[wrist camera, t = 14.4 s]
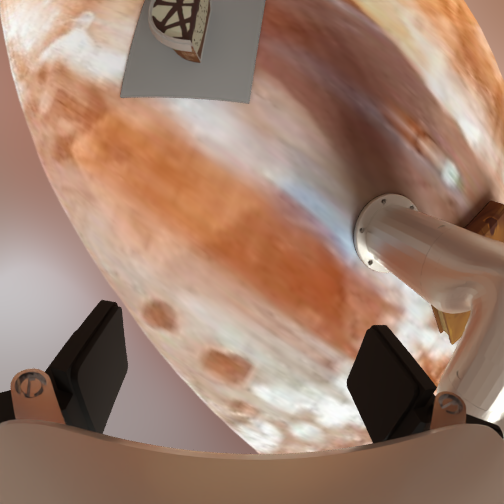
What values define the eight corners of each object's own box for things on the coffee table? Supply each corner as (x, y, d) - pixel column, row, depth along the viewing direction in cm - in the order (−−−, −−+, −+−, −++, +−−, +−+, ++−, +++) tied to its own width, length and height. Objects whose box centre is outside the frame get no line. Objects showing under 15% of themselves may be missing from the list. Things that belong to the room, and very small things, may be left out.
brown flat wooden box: (487, 199, 41) (506, 205, 36) (500, 267, 47) (516, 275, 41) (416, 268, 44) (434, 280, 39) (438, 331, 49) (453, 345, 44)
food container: (171, 3, 27) (158, -32, 18) (213, 3, 28) (209, -35, 19) (155, 72, 31) (132, 47, 22) (199, 72, 32) (189, 45, 22)
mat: (266, -8, 28) (267, -10, 28) (249, 103, 34) (249, 102, 34) (150, -11, 26) (149, -13, 26) (121, 97, 32) (120, 97, 32)
